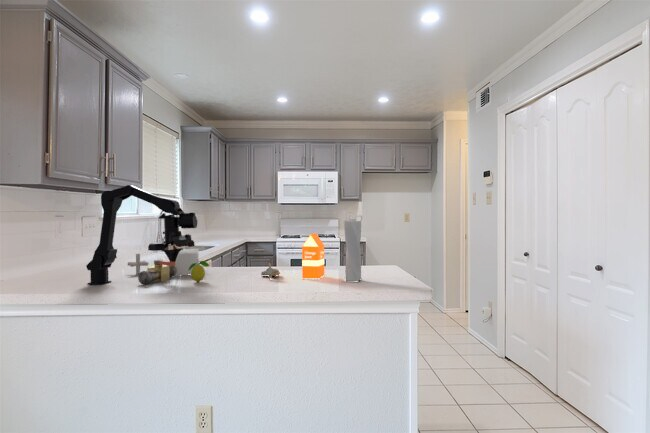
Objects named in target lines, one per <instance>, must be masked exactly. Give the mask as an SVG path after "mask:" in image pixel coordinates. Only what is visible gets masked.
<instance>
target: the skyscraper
mask: <svg viewBox="0 0 650 433" xmlns="http://www.w3.org/2000/svg"><path fill="white" fill-rule="evenodd" d="M358 217H360V220H357V218H358ZM362 220H363V216H362V215H361V214H359V215H356V216H355V218H352V219H351V218H347V219H344V222H343V224H344V225H343V227H344V240H345V241H344V242H345V247H346V249H345V278H346V281H358V282H357V283H360V281H361V280H362V256H361V255H362V254H361V247H360V244H361V238H362ZM360 279H361V280H360ZM359 280H360V281H359Z"/></svg>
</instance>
